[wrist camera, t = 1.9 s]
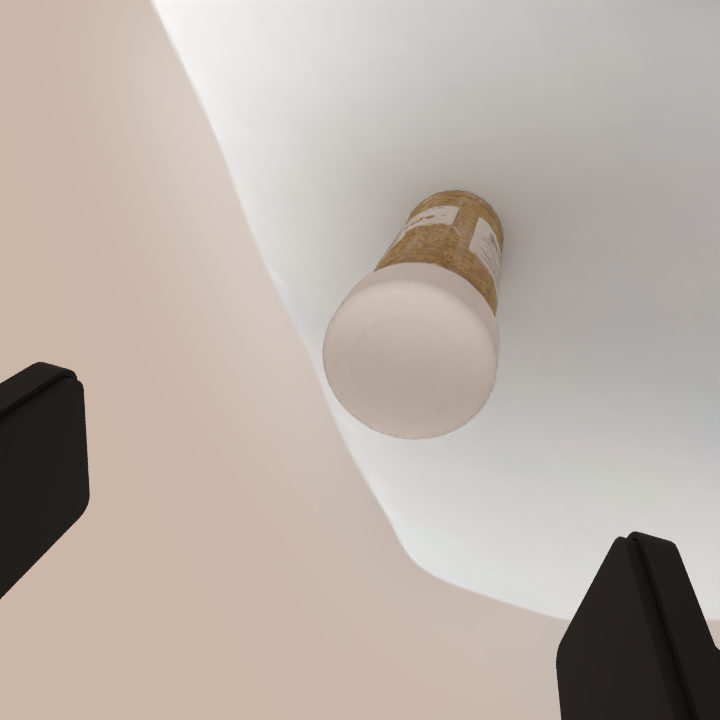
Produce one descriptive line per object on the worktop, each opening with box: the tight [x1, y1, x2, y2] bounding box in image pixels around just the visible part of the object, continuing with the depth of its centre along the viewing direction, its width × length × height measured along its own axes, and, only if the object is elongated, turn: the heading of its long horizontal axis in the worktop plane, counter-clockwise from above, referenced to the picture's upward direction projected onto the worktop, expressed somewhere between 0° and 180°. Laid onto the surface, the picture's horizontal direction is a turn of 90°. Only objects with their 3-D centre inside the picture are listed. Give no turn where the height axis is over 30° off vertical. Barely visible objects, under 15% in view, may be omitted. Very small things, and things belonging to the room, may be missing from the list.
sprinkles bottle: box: [323, 191, 503, 439], centre depth 20 cm, size 5×5×13 cm
